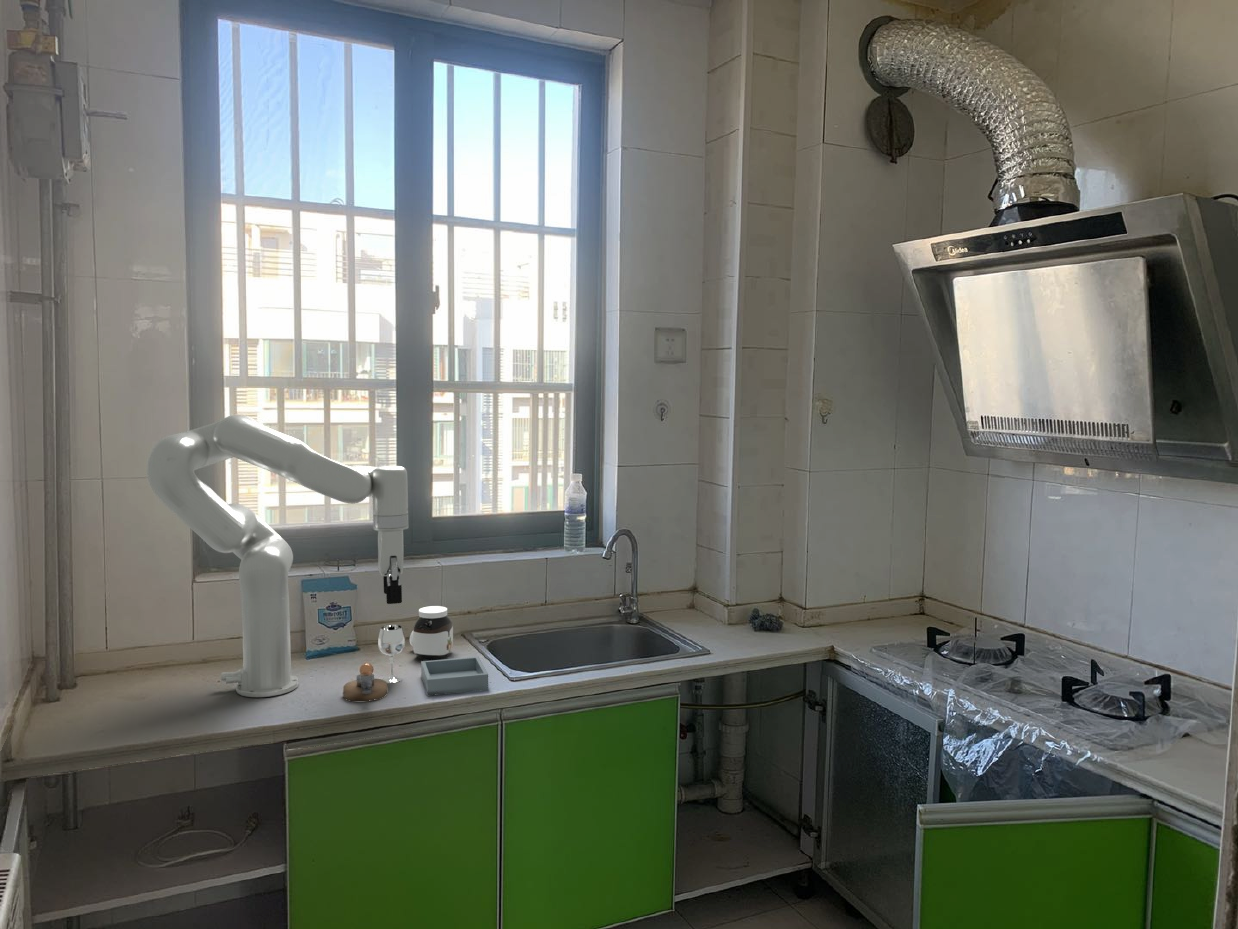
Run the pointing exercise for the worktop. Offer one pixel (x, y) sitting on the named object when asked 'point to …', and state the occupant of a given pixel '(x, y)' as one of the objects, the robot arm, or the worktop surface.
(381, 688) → the crank base
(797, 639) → the worktop surface
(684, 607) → the worktop surface
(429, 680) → the tray
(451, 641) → the spread jar
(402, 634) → the wineglass
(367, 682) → the crank
